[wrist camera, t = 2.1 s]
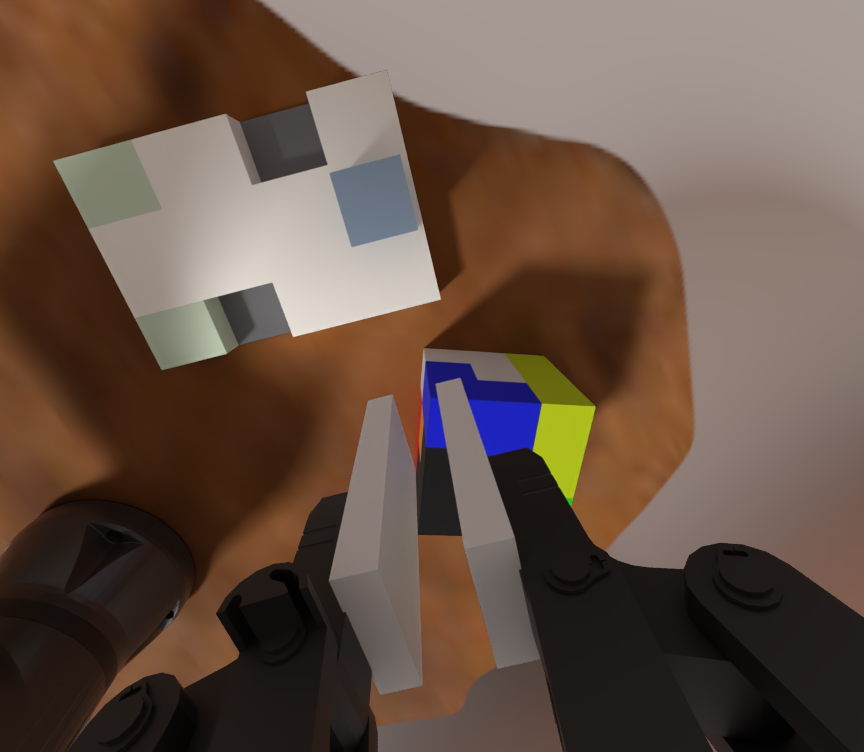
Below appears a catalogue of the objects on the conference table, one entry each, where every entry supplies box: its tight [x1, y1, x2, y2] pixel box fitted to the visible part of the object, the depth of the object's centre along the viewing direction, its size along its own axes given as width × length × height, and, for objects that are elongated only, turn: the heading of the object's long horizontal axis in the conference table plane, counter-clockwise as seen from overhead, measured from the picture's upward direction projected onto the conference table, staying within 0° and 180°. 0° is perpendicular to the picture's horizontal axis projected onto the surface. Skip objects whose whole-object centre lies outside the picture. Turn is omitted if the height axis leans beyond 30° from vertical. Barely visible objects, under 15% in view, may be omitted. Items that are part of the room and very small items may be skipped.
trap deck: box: [53, 70, 441, 370], centre depth 28 cm, size 21×14×2 cm, turn 104°
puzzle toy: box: [415, 348, 596, 536], centre depth 30 cm, size 10×10×10 cm
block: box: [329, 154, 418, 247], centre depth 25 cm, size 4×4×4 cm
